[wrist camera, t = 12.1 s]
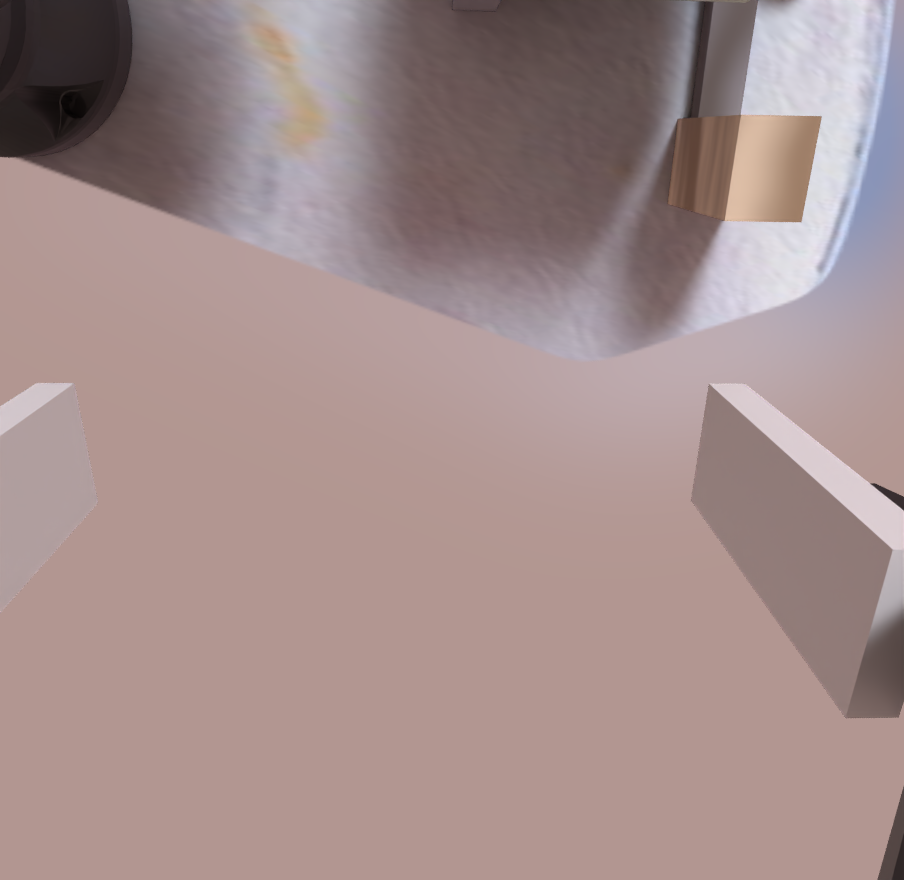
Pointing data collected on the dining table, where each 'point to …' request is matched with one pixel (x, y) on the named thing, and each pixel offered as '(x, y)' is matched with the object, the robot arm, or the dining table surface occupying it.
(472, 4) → the cabinet
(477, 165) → the dining table surface
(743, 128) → the wooden toy block
